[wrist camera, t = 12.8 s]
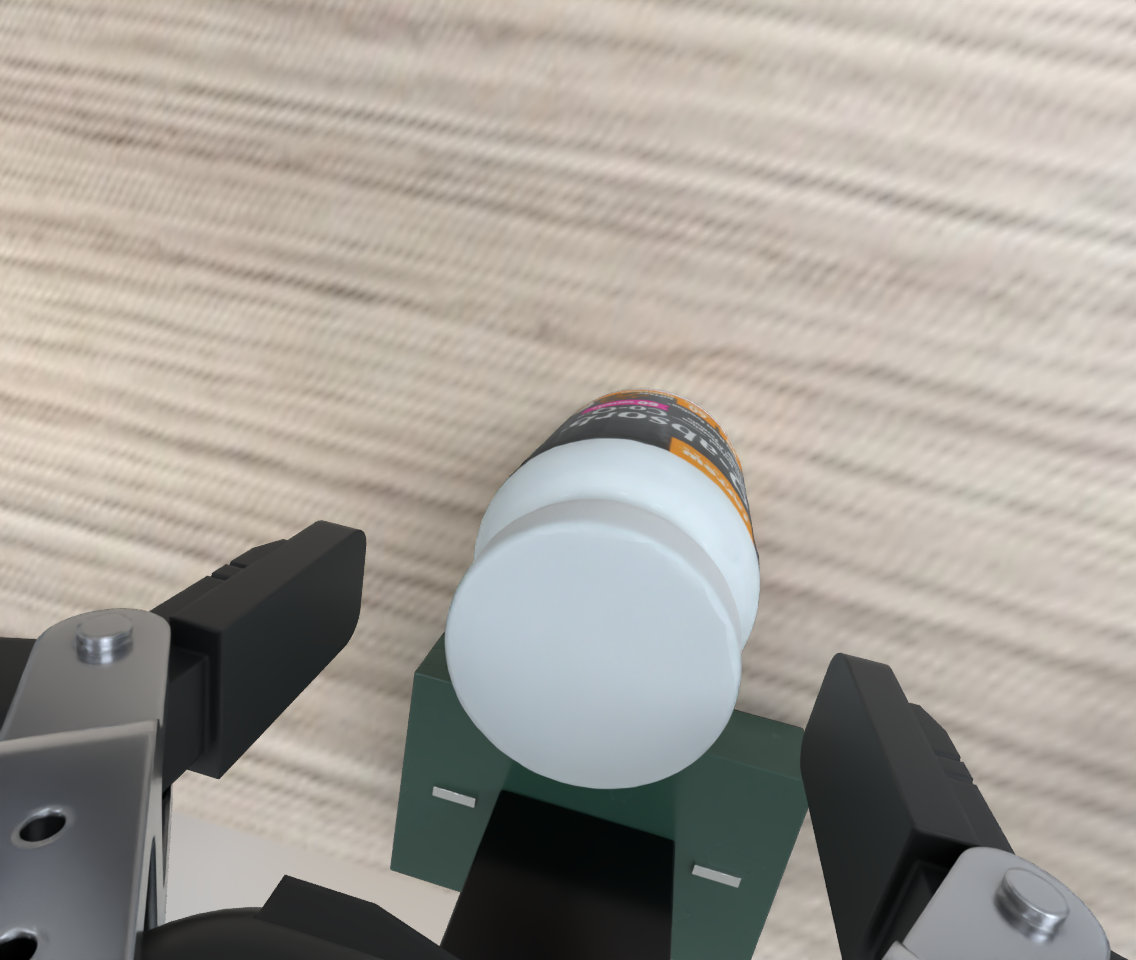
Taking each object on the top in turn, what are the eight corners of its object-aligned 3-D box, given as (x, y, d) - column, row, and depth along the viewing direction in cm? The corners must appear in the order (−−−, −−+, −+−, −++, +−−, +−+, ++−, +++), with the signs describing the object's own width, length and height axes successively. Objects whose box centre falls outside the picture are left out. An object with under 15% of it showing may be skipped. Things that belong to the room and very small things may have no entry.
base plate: (416, 831, 25) (384, 893, 22) (447, 608, 22) (414, 650, 19) (732, 930, 23) (736, 1007, 21) (812, 705, 20) (828, 764, 18)
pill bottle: (767, 411, 18) (840, 548, 9) (709, 592, 20) (720, 864, 11) (568, 363, 19) (440, 442, 9) (531, 543, 21) (392, 758, 11)
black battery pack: (493, 827, 21) (413, 1040, 15) (501, 787, 20) (420, 992, 14) (664, 879, 20) (650, 1124, 14) (676, 839, 20) (667, 1076, 14)
